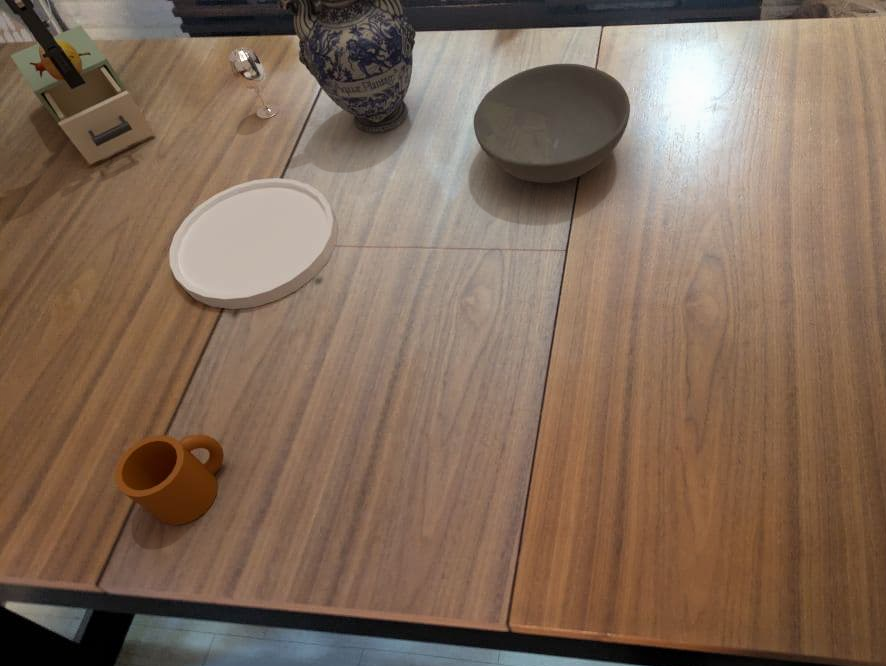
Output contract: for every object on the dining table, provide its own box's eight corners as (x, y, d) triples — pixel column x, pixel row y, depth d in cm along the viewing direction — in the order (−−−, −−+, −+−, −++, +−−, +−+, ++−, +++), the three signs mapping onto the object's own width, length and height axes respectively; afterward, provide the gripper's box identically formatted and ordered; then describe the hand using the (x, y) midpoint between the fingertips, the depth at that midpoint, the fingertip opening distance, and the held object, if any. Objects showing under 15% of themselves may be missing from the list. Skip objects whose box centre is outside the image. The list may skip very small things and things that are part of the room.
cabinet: (137, 106, 146) (106, 58, 137) (70, 139, 142) (33, 91, 133) (111, 72, 154) (80, 24, 145) (46, 102, 150) (10, 55, 141)
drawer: (162, 143, 137) (136, 103, 130) (97, 176, 134) (66, 136, 126) (128, 98, 146) (101, 58, 139) (65, 127, 143) (35, 88, 135)
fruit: (76, 26, 129) (20, 44, 127) (75, 34, 124) (16, 53, 122) (100, 65, 133) (46, 83, 131) (99, 74, 128) (43, 93, 127)
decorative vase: (330, 159, 132) (268, 9, 108) (323, 100, 141) (264, -49, 118) (442, 133, 133) (404, -21, 109) (427, 76, 142) (390, -76, 119)
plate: (262, 169, 132) (256, 159, 129) (371, 224, 121) (366, 213, 119) (143, 266, 121) (135, 256, 119) (251, 335, 111) (244, 325, 109)
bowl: (605, 221, 117) (605, 172, 108) (459, 195, 123) (448, 148, 115) (645, 121, 129) (647, 70, 121) (510, 102, 136) (504, 53, 127)
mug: (249, 487, 96) (217, 457, 89) (166, 538, 93) (126, 511, 86) (225, 442, 101) (193, 409, 93) (145, 488, 98) (105, 459, 90)
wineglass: (286, 112, 140) (260, 55, 130) (259, 124, 139) (232, 68, 129) (275, 98, 143) (249, 41, 133) (249, 110, 142) (221, 54, 132)
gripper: (16, -45, 107) (108, 90, 127) (-16, -88, 116) (74, 45, 136) (-33, -26, 105) (68, 109, 125) (-62, -70, 115) (36, 61, 134)
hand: (71, 75), depth 130 cm, fingers closed on fruit, 7 cm apart
